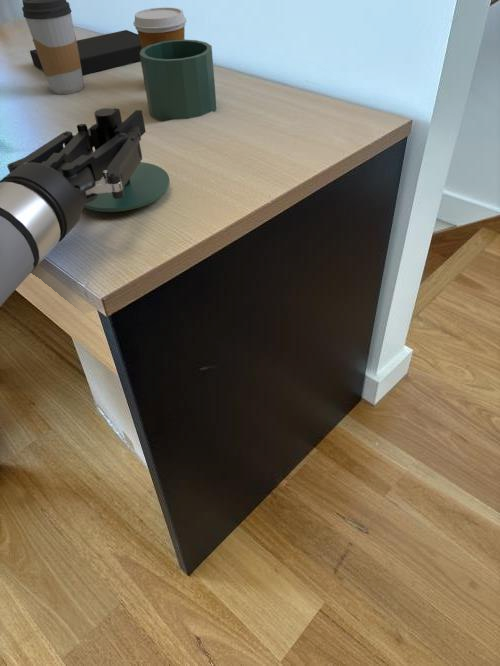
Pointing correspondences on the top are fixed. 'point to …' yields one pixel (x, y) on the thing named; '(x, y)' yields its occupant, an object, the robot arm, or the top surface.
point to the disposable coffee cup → (159, 25)
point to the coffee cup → (55, 43)
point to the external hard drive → (104, 51)
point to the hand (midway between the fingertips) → (129, 120)
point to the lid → (141, 185)
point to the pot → (179, 79)
